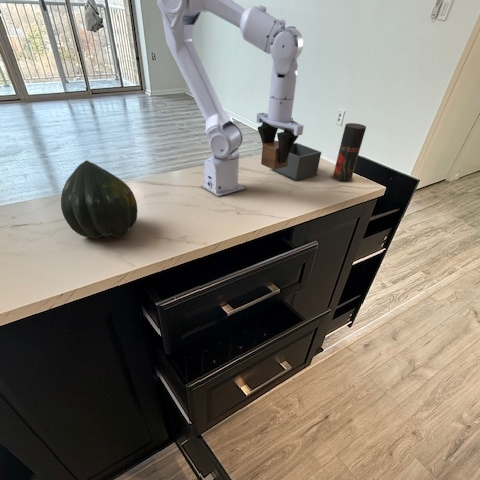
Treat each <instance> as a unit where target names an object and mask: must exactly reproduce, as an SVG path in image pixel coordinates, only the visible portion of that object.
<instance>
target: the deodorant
mask: <svg viewBox="0 0 480 480" xmlns="http://www.w3.org/2000/svg"><path fill="white" fill-rule="evenodd" d="M366 131H367V126H366V125H364V124H360V123H355V122H349V123H345V126H344V129H343V132H342V133H343V134H342V138H341V141H340V146H339V150H338V154H337V157H336V162H335V165H334V169H333V174H332V179H333V180H335V181H338V182H342V183H347V182H351V181H352V178H353V175H354V172H355V168H356V165H357V161H358V157H359V154H360V149H361V148H362V144H363V140H364V136H365V133H366Z"/></svg>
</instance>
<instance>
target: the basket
mask: <svg viewBox="0 0 480 480" xmlns="http://www.w3.org/2000/svg"><path fill="white" fill-rule="evenodd" d="M321 156H322V151H320V150H317V149H314V148H312V147H309V146H306V145H303V144H301V143H298V142H294V144H293V146H292V148H291V150H290V152H289V159H288V166H287V167H283V168H279V169H275V170H273V169H271V171H273V172H275V173H277V174H280V175H281V176H284V177H285V178H288V179H291V180H292V181H295V182H297V181H301V180H304V179H307V178H310V177H313V176H317V175H318V170H319V166H320V162H321V161H320V160H321Z"/></svg>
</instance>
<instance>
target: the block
mask: <svg viewBox="0 0 480 480" xmlns="http://www.w3.org/2000/svg"><path fill="white" fill-rule="evenodd" d="M261 148H262V150H261V161H260V164H261V165H262V166H264V167H266V168H269V169H271V170H272V169H273V170H275V169H279V168H283V167H287V166H288V159H289V154H288V157H287V160H286V162H285V163H281V164H280V163H279V162H278V154H279V143H278V140H274V142H269V143H264V144H263V145H262V147H261ZM273 170H272V171H273Z"/></svg>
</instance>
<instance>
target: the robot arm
mask: <svg viewBox="0 0 480 480" xmlns="http://www.w3.org/2000/svg"><path fill="white" fill-rule="evenodd" d="M156 4H157V7H158V9H159V12H160V13H161V17H162V23H163V30H164V35H165V36H164V37H165V42H166V45H167V47H168V49H169V51H170V53H171V55H172V57H173V59H174V61H175V63H176V65H177V67H178V69H179V71H180V74H181V75H182V77H183V79H184V81H185V84H186V85H187V87H188V88H189V91H190V93H191V95H192V97H193V99H194V101H195V104H196V105H197V107H198V109H199V111H200V113H201V115H202V117H203V119H204V121H205V135H206V138H207V140H208V147H209V150H210V152H211V153H212V155H211V156H210V157H209V158H206V159H205V160H204V163H203V183H204V184H203V185H202V187H203V188H204V189H206V190H208V191H209V192H211V193H212V194H214V195H216V196H217V197H221V196H224V195H228V194H232V193H235V192H238V191H242V190H244V189H245V187H244V186H242V185H241V184H239V167H240V152H239V148H240V146H241V145H242V143H243V140H244V135H243V131H242V129H241V128H240V126H238V125H237V124H236V123H235V121H234V120H233V118H232V117H231V115H230V114H229V113H228V112H226V111H225V109H224V108H223V106H222V103H221V101H220V99H219V97H218V95H217V92H216V91H215V88H214V85H213V84H212V81H211V80H210V77H209V75H208V73H207V71H206V68H205V67H204V64H203V63H202V60H201V58H200V56H199V54H198V52H197V50H196V48H195V45H194V43H193V41H192V39H193V36H194V35H193V34H194V30H195V27H196V24H197V22H198V20H199V18H200V16H201V13H208V12H209V13H211V14H212V15H215V16H216V17H218V18H220V19H221V20H223V21H226V22H227V23H229V24H231V25H233V26H234V27H237V28H239V30H240V32H241V36H242V39H243V41H246V42H247V43H249V44H250V45H253V46H254V47H256V48H257V49H259V50H261V51H263V53H266V54H267V55H270V56H271V58H272V67H271V76H270V77H271V78H270V85H269V99H268V109H267V113H265V112H259V113H256V123H258V124H260V125H258V126H257V132H258V134H259V137H260V141H261V143H262V146H263V144H264V143H269V142H274V141H276V140H275V139H276V137H277V141H278V143H279V154H278V162H279V163H280V164H281V163H285V162H286V160H287V157H288V154H289V152H290V150H291V148H292V146H293V144H294V143H296V141H297V139H298V138H299V136H303V134H304V127H305V126H304V124H300V123H299V122H297V121H295V120H294V117H292V116H293V107H294V102H295V95H296V87H297V86H296V85H297V78H298V77H297V76H298V67H299V57H300V56H301V53H302V51H303V48H304V39H303V35H302V33H301V32H300V31H299V30H298V29H297V27H296V26H294V25H293V26H292V25H291V26H286V24H287V20H286V19H284V18H281V19H280V20H279V19H278V18H276V17H275V16H273V15H271V14H270V13H268V12H267V7H266V6H265V5H262V4H260V5H258V6H257V5H253V6H251V7H249V8H247V9H246V8H244V6H241V5H240V4H239V3H237V2H236V1H234V0H157V2H156ZM278 130H281V132H278Z"/></svg>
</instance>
